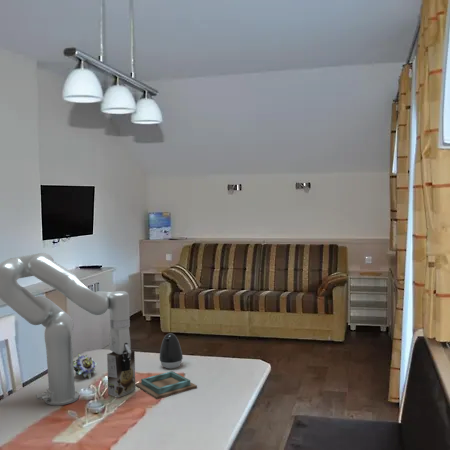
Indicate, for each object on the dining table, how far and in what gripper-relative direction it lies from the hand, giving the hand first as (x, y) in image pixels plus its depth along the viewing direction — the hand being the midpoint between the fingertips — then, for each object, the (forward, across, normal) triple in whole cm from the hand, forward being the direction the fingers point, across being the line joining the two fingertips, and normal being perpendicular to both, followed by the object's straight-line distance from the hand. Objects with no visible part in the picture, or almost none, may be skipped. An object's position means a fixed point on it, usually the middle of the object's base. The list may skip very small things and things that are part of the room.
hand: (121, 367), depth 213 cm
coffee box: (+10, 0, 0) cm, 10 cm away
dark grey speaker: (+10, -15, +31) cm, 35 cm away
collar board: (+10, +5, +17) cm, 20 cm away
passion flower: (+11, -30, -4) cm, 32 cm away
